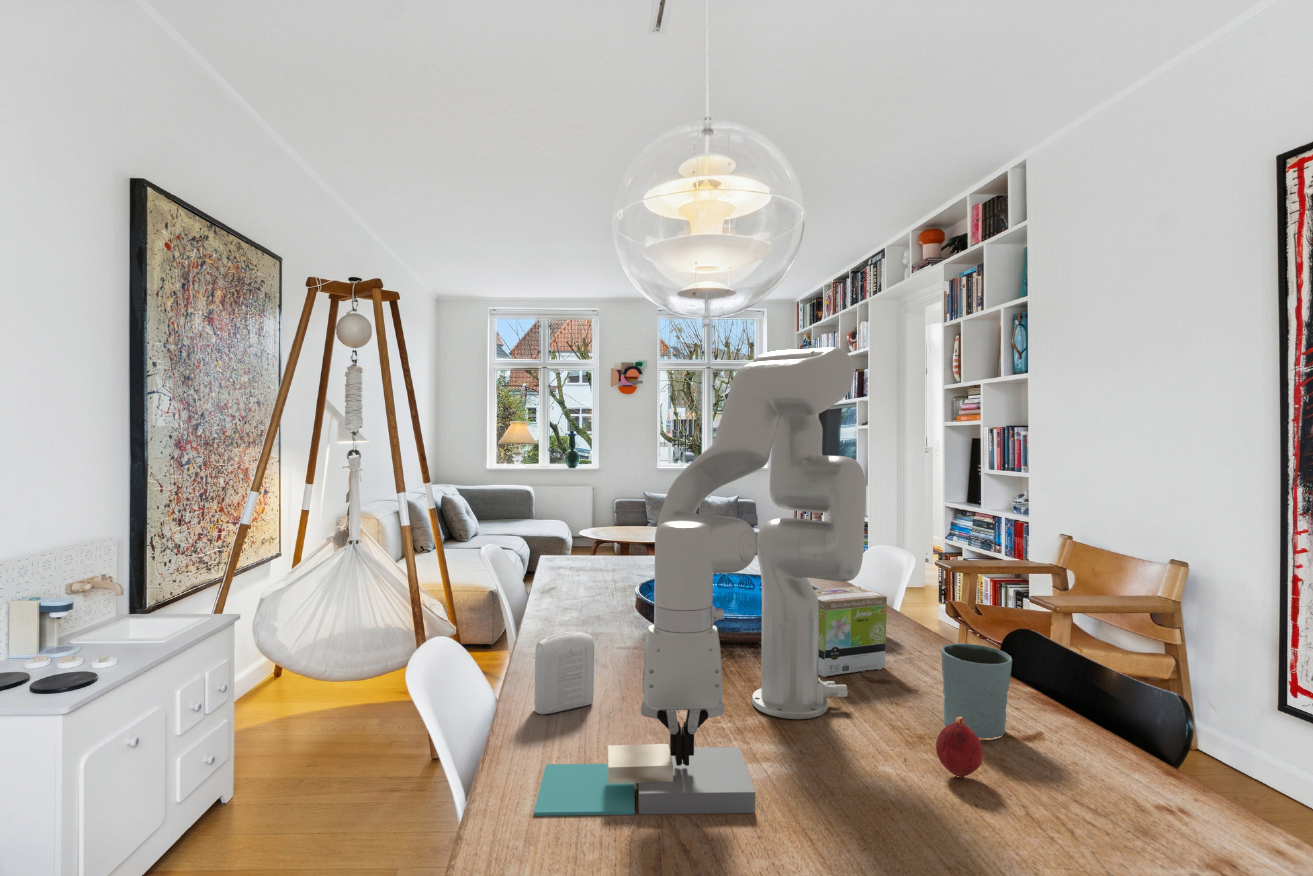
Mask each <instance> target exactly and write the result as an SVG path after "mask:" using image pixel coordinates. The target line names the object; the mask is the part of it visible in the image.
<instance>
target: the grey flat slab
mask: <svg viewBox="0 0 1313 876" xmlns="http://www.w3.org/2000/svg"><path fill="white" fill-rule="evenodd" d="M669 749H670V747H669ZM671 758H672V763H673V782H644V783H637V786H638V787H637V788H638V789H637V790H638V791H637V792H638V793H637V794H638V796H637V798H638V815H691V814H692V815H694V814H695V815H696V814H697V815H698V814H753V813H754V814H756V790H755V788H754V785H753V781H752V779H751V776H750V773H749V771H748V768H747V765H746V761H745V758H744V756H743V753H742V751H741V748H740V747H738V746H729V747H728V746H725V747H723V746H721V747H719V746H717V747H715V746H714V747H712V746H711V747H706V746H705V747H703V746H702V747H694V756H689V766H685V764H683V760H682V764H681V766H677V765H676V759H675V756H671Z"/></svg>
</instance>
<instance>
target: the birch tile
mask: <svg viewBox="0 0 1313 876" xmlns="http://www.w3.org/2000/svg"><path fill="white" fill-rule="evenodd" d="M669 748H670V743H658V744H657V743H655V744H654V743H652V744H651V743H650V744H649V743H647V744H617V745H615V744H614V745H612V744H611V745H607V764H608V784H615V783H634V784H638V783H644V782H673V763H672V758H671V754H670V749H669Z"/></svg>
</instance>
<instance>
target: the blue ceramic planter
mask: <svg viewBox="0 0 1313 876" xmlns="http://www.w3.org/2000/svg"><path fill="white" fill-rule="evenodd" d="M940 653H941V655H940V656H941V672H942V680H943V683H942V684H943V688H942V693H943V697H944V698H943V723H944V726H945V725H946V726H948V725H951V724H953V723H954V721H955V720H956V717H960V716H961V717H962V718H963V719H965V725H966V726H968V727H969V728H970V729H972V730H973V731H974V733H975V734H976V735H977V737H978V738H979V737H980V738H994V737H999V736H1002V735H1003V734H1004V735H1005V733H1006V732H1005V730H1006V721H1007V714H1006V713H1007V704H1008V693H1009V690H1010V689H1009V688H1010V683H1011V682H1010V679H1011V675H1012V667H1013V666H1012V664H1013V659H1012V656H1011V655H1009V654H1008V653H1007V652H1006V651H1003V650H1000V649H997V648H995V647H991V646H986V645H981V644H974V643H965V642H963V643H961V642H958V643H949V644H945V645H943V646H942V647H941V649H940ZM946 726H945V727H946Z"/></svg>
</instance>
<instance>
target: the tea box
mask: <svg viewBox="0 0 1313 876" xmlns="http://www.w3.org/2000/svg"><path fill="white" fill-rule="evenodd" d="M858 587H859V586H858ZM858 587H856V586H847V587H831V588H821V589H814V591H815V593H816V595H817V598H818V603H819V669H818V676H820V677H823V678H826V677H829V676H830V677H831V676H836V675H842V674H843V675H844V674H849V673H857V672H859V671H860V672H867V671H866V670H868V671H875V670H874V669H877V670H880V669H879V668H884V669H885V668H886V647H887V646H886V645H887V612H888V611H887V608H888V607H887V606H888V603H887V601H888V597H887V596H886V595H884V594H882V595H880V594H881V593H880V594H877V593H878V592H876V593H874V592H875V591H872V592H871V590H867V589H865V588H858Z"/></svg>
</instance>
